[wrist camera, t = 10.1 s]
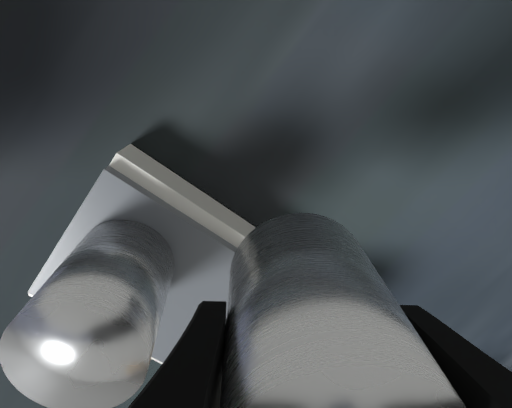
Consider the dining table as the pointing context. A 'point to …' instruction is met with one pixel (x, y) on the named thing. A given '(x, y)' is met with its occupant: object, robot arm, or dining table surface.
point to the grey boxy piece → (169, 226)
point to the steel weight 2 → (320, 326)
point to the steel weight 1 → (92, 320)
